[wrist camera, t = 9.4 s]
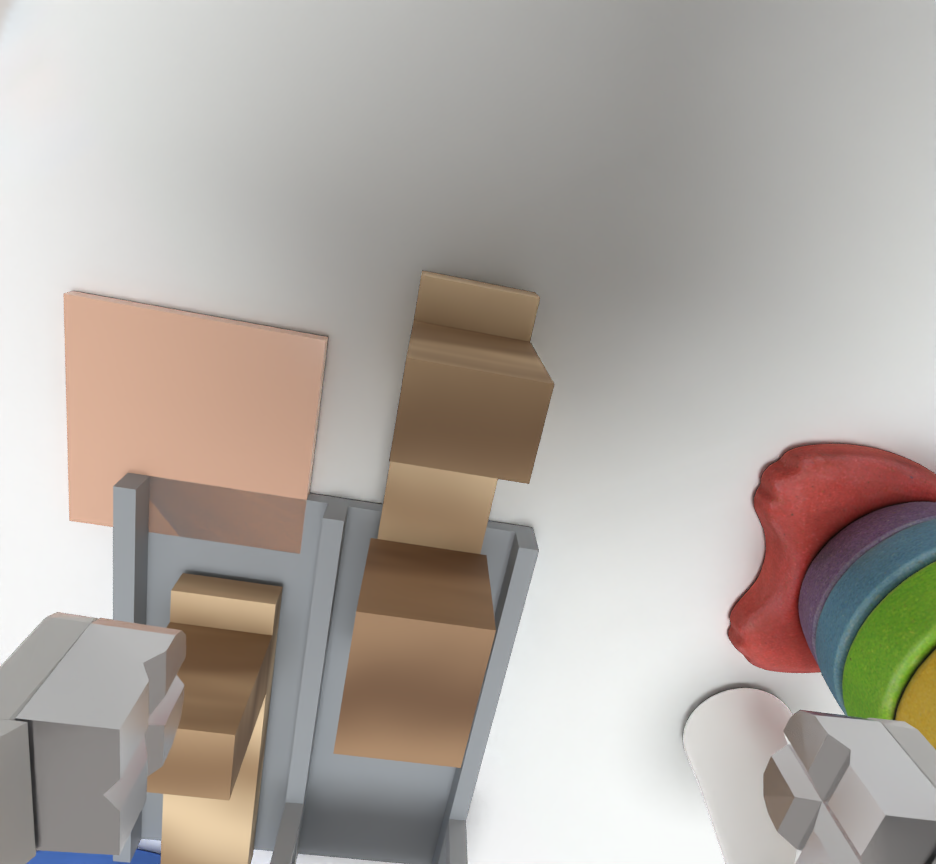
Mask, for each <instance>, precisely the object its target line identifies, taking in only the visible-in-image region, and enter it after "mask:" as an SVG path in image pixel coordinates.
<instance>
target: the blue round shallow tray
mask: <svg viewBox="0 0 936 864" xmlns="http://www.w3.org/2000/svg"><path fill="white" fill-rule="evenodd" d="M26 864H161V855H160V854H156V853H152V852H148V851H143V850H138V849H136V851H135V853H134V856H133V858H132V860H131V862H130V863H129V862H118V861H113V855H105V854H89V853H73V852H56V851H36V856H35V857H33V858H32V859H31V860H30V861H29V862H27V863H26Z"/></svg>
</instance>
